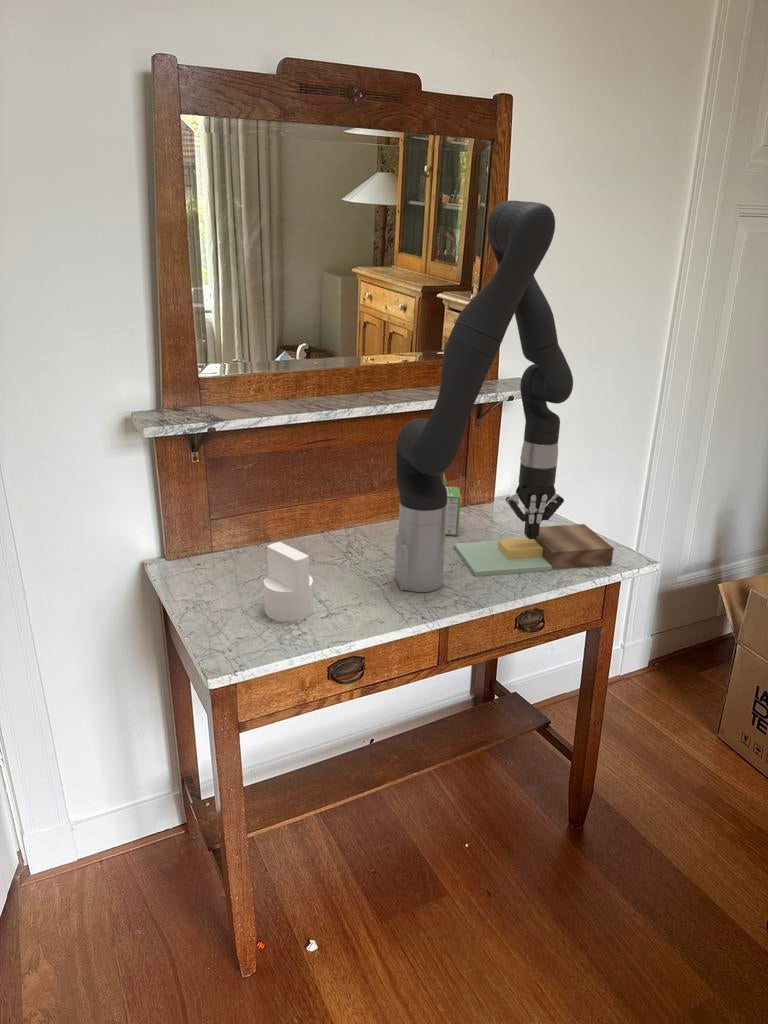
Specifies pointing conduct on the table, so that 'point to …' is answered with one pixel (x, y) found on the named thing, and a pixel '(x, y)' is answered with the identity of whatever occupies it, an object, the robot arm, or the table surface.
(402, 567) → the robot arm
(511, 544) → the tile
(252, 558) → the table surface
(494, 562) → the mat
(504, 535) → the table surface
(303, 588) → the base with upright slab
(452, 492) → the ink box
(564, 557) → the brown wooden block
